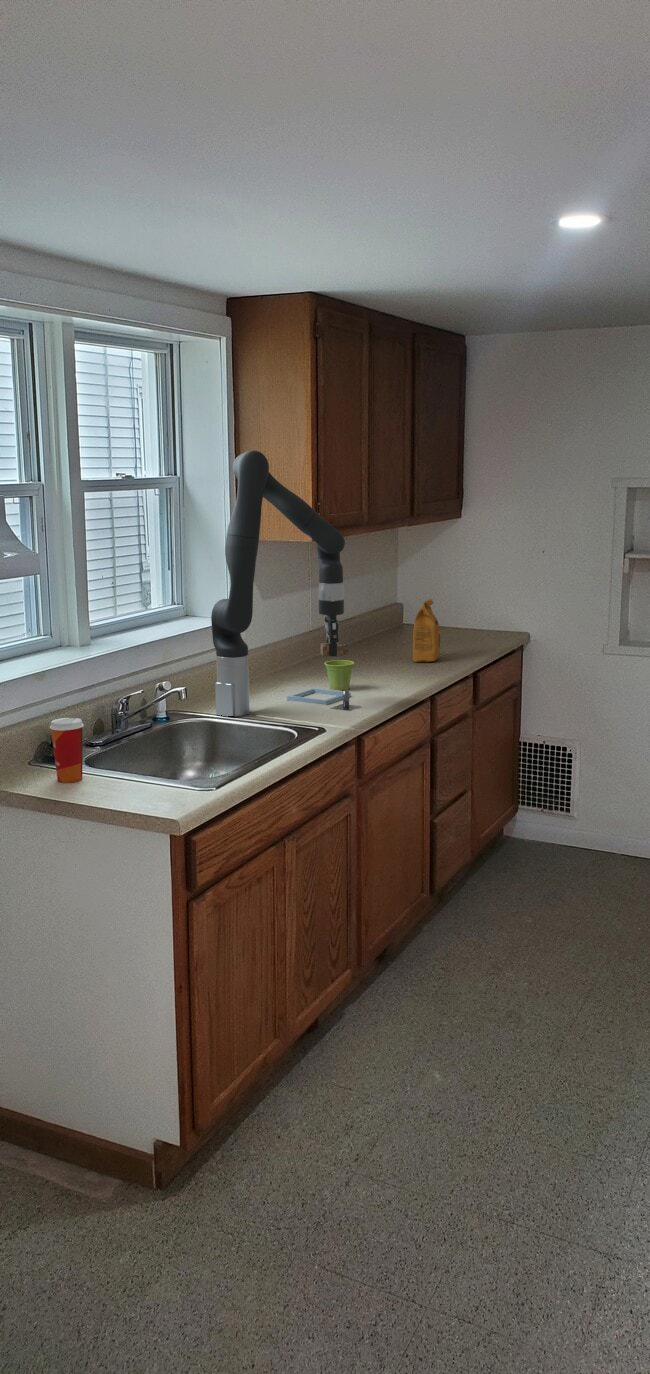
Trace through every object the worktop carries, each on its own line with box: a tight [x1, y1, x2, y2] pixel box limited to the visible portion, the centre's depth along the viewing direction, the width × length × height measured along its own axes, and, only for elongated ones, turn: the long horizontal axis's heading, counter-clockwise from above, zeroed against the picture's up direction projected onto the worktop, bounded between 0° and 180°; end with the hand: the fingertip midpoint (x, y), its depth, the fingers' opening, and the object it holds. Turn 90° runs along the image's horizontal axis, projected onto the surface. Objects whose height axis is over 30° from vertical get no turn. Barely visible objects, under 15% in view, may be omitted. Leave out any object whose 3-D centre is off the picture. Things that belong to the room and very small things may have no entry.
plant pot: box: [324, 659, 355, 691], centre depth 353 cm, size 9×9×9 cm
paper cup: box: [49, 717, 85, 784], centre depth 254 cm, size 8×8×14 cm
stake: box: [329, 689, 363, 712], centre depth 323 cm, size 7×7×6 cm
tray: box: [286, 687, 352, 706], centre depth 336 cm, size 14×14×2 cm
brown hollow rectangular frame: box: [320, 642, 350, 658], centre depth 327 cm, size 8×6×3 cm
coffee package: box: [412, 598, 441, 663], centre depth 401 cm, size 10×12×22 cm
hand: (331, 654), depth 327 cm, fingers closed on brown hollow rectangular frame, 6 cm apart
